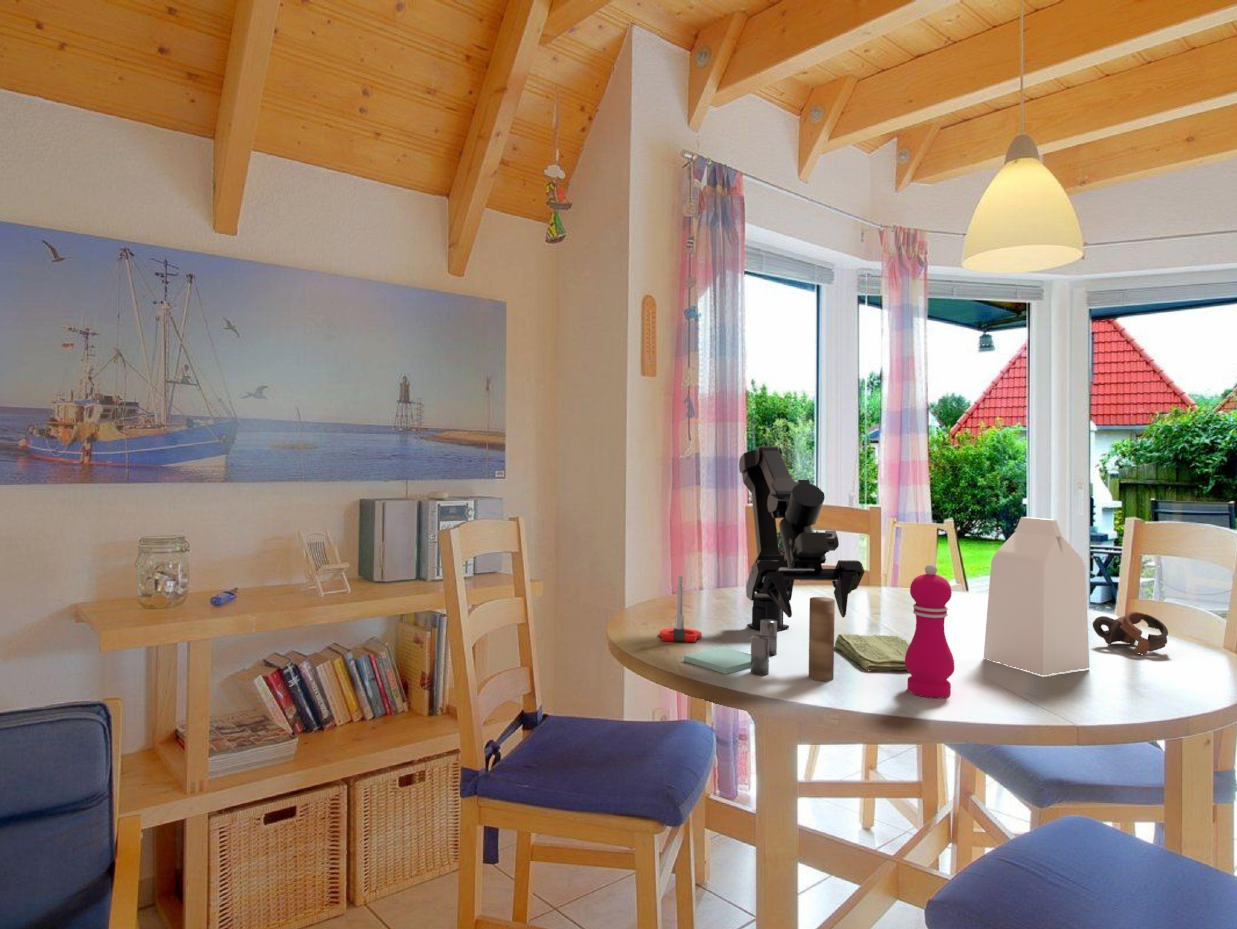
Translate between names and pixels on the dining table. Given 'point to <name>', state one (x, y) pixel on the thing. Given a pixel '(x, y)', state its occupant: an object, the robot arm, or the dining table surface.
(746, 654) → the teal pad
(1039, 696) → the dining table surface
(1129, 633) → the brown ring bracket
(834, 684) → the dining table surface
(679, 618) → the tow hook
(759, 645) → the post near pad
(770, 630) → the post farther from pad
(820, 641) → the walnut dowel
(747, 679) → the dining table surface
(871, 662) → the washcloth
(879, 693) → the dining table surface
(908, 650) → the pepper mill
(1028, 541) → the milk
